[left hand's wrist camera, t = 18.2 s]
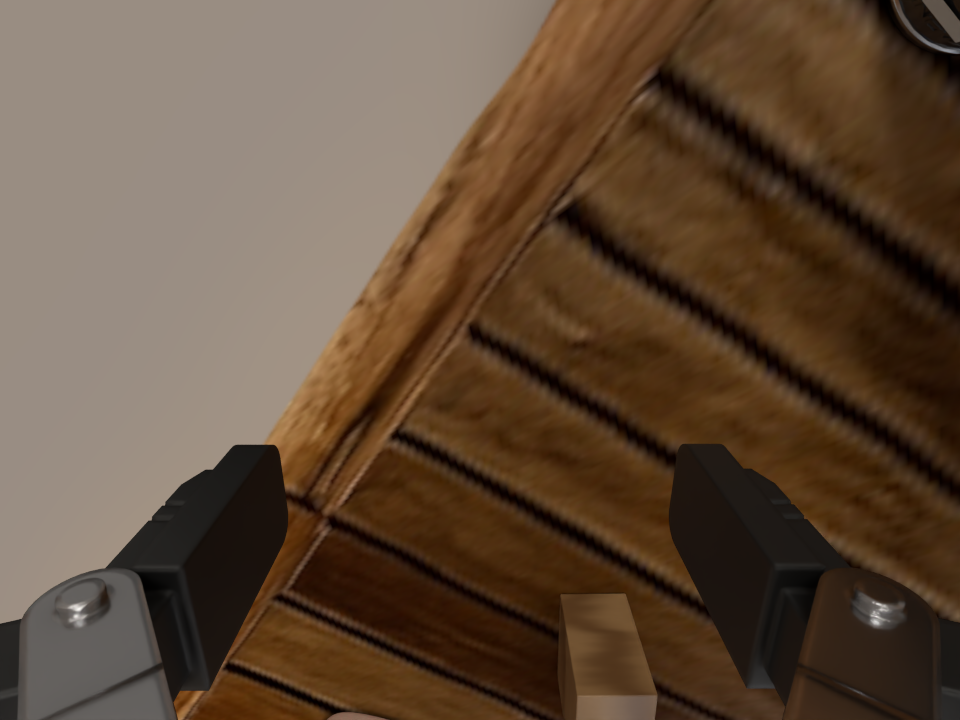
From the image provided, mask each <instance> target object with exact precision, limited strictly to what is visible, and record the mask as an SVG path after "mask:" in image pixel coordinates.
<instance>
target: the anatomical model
mask: <svg viewBox="0 0 960 720" xmlns="http://www.w3.org/2000/svg"><path fill="white" fill-rule="evenodd" d="M327 720H388V719H384V718H381V717H377V716H372V715H367V714H361V713H354V712H341V713H337V714H334V715H332V716H331V717H329V718H328V719H327Z"/></svg>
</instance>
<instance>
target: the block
mask: <svg viewBox="0 0 960 720" xmlns="http://www.w3.org/2000/svg"><path fill="white" fill-rule="evenodd" d="M558 682H559V689H560V697H561V704H562V711H563V719H564V720H655V712H656V704H657V696H658V695H657V692H656V689H655V686H654V683H653V680H652V676H651V673H650V670H649V667H648V664H647V660H646V657H645V654H644V651H643V648H642V645H641V641H640V638H639V635H638V632H637V629H636V626H635V622H634V619H633V616H632V613H631V610H630V606H629V603H628V600H627V597H626V594H624V593H623V594H561V595H560V616H559V646H558Z"/></svg>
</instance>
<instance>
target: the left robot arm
mask: <svg viewBox="0 0 960 720" xmlns="http://www.w3.org/2000/svg"><path fill="white" fill-rule="evenodd" d="M885 1H886V4H887V7H888V10H889V13H890V15H891V17H892V19H893V21H894V23H895V24H896V26H897V27H898V29H899V30H900V31H901V32H902V34H903V35H904V36H905V37H906V38H907V39H908V40H910V41H911V42H912V43H914V44H915V45H916V46H918V47H920V48H922V49H924V50H926V51H929V52H932V53H935V54H939V55H946V56H960V0H885ZM669 525H670V531H671V536H672V539H673V542H674V544H675V546H676V548H677V550H678V552H679V554H680V556H681V558H682V560H683V562H684V564H685V566H686V568H687V570H688V572H689V574H690V576H691V578H692V580H693V582H694V584H695V586H696V588H697V590H698V592H699V594H700V596H701V598H702V600H703V602H704V604H705V606H706V608H707V610H708V612H709V614H710V616H711V618H712V620H713V622H714V624H715V626H716V628H717V630H718V632H719V634H720V636H721V638H722V640H723V642H724V644H725V646H726V648H727V650H728V652H729V654H730V656H731V658H732V660H733V662H734V664H735V666H736V668H737V670H738V672H739V674H740V676H741V678H742V680H743V682H744V684H745V686H746V688H775V689H776V690H777V692H778V694H779V696H780V698H781V699H782V701H783V703H784V705H785V710H784V714H783V718H782V720H960V623H958V622H954V621H949V620H945V619H940V618H937V616H936V614H935V612H934V611H933V610H932V608H931V607H930V606H929V605H928V604H927V603H926V602H925V601H924V600H923V599H922V598H921V597H920V596H918V595H917V594H916V593H914V592H913V591H911V590H910V589H909V588H907V587H905V586H903V585H902V584H900V583H898V582H896V581H894V580H892V579H890V578H888V577H885V576H883V575H880V574H877V573H874V572H871V571H866V570H862V569H856V568H851V567H850V566H849V565H848V564H847V563H846V562H845V561H844V560H843V559H842V557H841V556H840V555H839V554H838V553H837V552H836V551H835V550H834V549H833V547H832V546H831V545H830V544H829V543H828V542H827V541H826V540H825V539H824V537H823V536H822V535H821V534H820V533H819V532H818V531H817V530H816V529H815V527H814V526H813V525H812V524H811V523H810V522H809V521H808V520H807V519H804V515H803V514H802V513H801V512H800V511H799V510H798V509H797V507H796V506H795V505H794V504H791V501H790V500H789V499H788V497H787V496H786V495H785V494H784V493H783V492H782V491H781V490H780V489H779V487H778V486H777V485H776V484H775V483H773V482H772V481H770V480H768V479H767V478H765V477H764V476H762V475H760V474H759V473H757V472H755V471H754V470H752V469H743V468H742V466H741V465H740V464H739V463H738V462H737V460H736V459H735V458H734V457H733V456H732V455H731V453H730V452H729V451H728V450H727V449H726V447H725V446H724V445H722V444H682V445H681V446H680V447H679V450H678V453H677V458H676V466H675V473H674V480H673V487H672V494H671V501H670V508H669ZM287 527H288V509H287V502H286V495H285V488H284V481H283V474H282V467H281V460H280V454H279V451H278V448H277V447H276V446H275V445H235V446H233V447H232V448H231V449H230V450H229V452H228V453H227V454H226V455H225V456H224V457H223V459H222V460H221V461H220V462H219V463H218V464H217V466H216V467H215V468H214V469H213V470H204V471H203V472H201V473H200V474H198V475H196V476H195V477H193V478H191V479H190V480H188V481H187V482H185V483H183V484H182V485H181V486H180V487H179V488H178V489H177V490H176V491H175V492H174V493H173V494H172V495H171V497H170V498H169V499H168V500H167V501H166V504H165V506H161V508H160V509H159V510H158V511H157V512H156V513H155V514H154V515H153V516H152V521H148V522H147V523H146V524H145V525H144V526H143V527H142V528H141V530H140V531H139V532H138V533H137V534H136V535H135V536H134V537H133V538H132V539H131V541H130V542H129V543H128V544H127V545H126V546H125V547H124V548H123V549H122V551H121V552H120V553H119V554H118V555H117V556H116V557H115V558H114V559H113V560H112V562H111V563H110V564H109V565H108V566H107V567H106V568H105V569H98V570H94V571H89V572H86V573H83V574H80V575H77V576H75V577H72V578H70V579H68V580H66V581H64V582H62V583H60V584H58V585H57V586H55V587H53V588H51V589H50V590H49V591H47V592H46V593H44V594H43V595H42V596H40V597H39V598H38V599H37V600H36V601H35V602H34V603H33V604H32V605H31V606H30V607H29V608H28V610H27V611H26V612H25V614H24V616H23V618H22V619H19V620H15V621H11V622H6V623H2V624H0V720H178V718H177V714H176V710H175V707H174V703H173V702H174V700H175V698H176V697H177V695H178V693H179V691H209V689H210V687H211V685H212V683H213V681H214V679H215V677H216V675H217V673H218V671H219V669H220V667H221V665H222V663H223V662H224V660H225V658H226V656H227V654H228V652H229V650H230V648H231V646H232V644H233V642H234V640H235V638H236V636H237V634H238V632H239V630H240V628H241V626H242V624H243V622H244V620H245V618H246V616H247V614H248V612H249V610H250V608H251V606H252V604H253V602H254V600H255V598H256V596H257V595H258V593H259V591H260V589H261V587H262V585H263V583H264V581H265V579H266V577H267V575H268V573H269V571H270V569H271V567H272V565H273V563H274V561H275V559H276V557H277V555H278V553H279V551H280V549H281V547H282V545H283V543H284V540H285V537H286V533H287Z"/></svg>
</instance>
